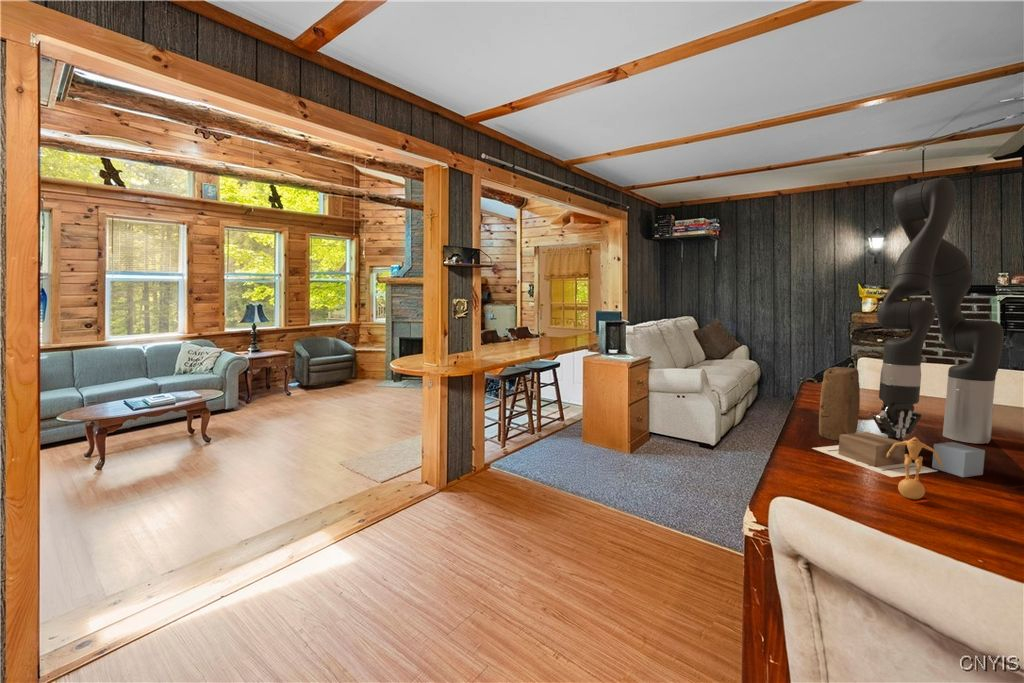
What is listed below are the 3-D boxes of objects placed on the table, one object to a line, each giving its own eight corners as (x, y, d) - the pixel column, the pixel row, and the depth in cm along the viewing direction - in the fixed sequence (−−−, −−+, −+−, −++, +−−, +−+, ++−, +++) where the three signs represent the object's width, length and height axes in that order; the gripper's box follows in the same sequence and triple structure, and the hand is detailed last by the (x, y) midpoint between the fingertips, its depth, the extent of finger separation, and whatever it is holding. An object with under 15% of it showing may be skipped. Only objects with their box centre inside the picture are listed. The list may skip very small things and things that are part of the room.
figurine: (883, 496, 91) (887, 437, 90) (883, 486, 95) (888, 430, 94) (939, 508, 85) (945, 446, 84) (937, 497, 90) (943, 438, 89)
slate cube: (950, 466, 107) (953, 441, 106) (982, 476, 101) (985, 450, 100) (931, 469, 105) (933, 444, 105) (962, 479, 99) (965, 452, 99)
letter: (852, 444, 122) (853, 443, 122) (938, 472, 103) (938, 470, 103) (810, 449, 119) (811, 447, 119) (891, 478, 100) (891, 476, 100)
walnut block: (866, 451, 116) (867, 431, 116) (904, 463, 108) (905, 442, 107) (838, 454, 114) (839, 434, 114) (874, 466, 105) (876, 445, 105)
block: (846, 444, 122) (851, 371, 120) (814, 437, 128) (819, 368, 127) (860, 437, 129) (865, 367, 127) (830, 431, 135) (834, 364, 133)
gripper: (903, 378, 116) (898, 444, 118) (863, 380, 113) (858, 448, 114) (937, 383, 109) (931, 453, 110) (895, 386, 106) (889, 458, 107)
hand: (894, 451), depth 112 cm, fingers closed
